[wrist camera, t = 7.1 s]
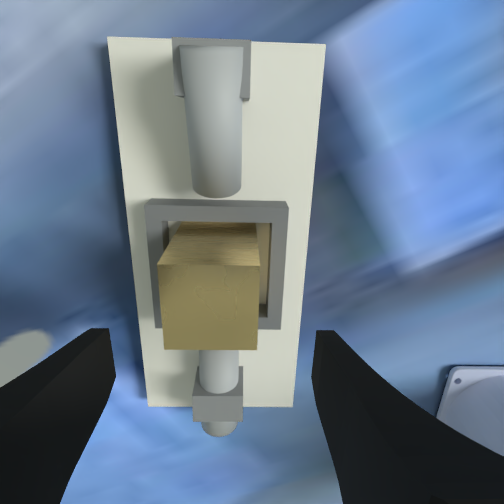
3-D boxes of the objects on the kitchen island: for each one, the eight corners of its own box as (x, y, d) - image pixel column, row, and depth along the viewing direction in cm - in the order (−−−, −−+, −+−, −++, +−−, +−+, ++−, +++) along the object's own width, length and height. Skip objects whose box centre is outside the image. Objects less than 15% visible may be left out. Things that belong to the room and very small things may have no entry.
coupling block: (253, 286, 20) (257, 350, 15) (186, 285, 20) (164, 349, 15) (255, 221, 19) (260, 266, 13) (182, 220, 19) (157, 264, 13)
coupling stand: (290, 396, 25) (302, 466, 20) (151, 395, 25) (128, 467, 20) (321, 48, 17) (354, 19, 12) (114, 40, 17) (58, 8, 12)
